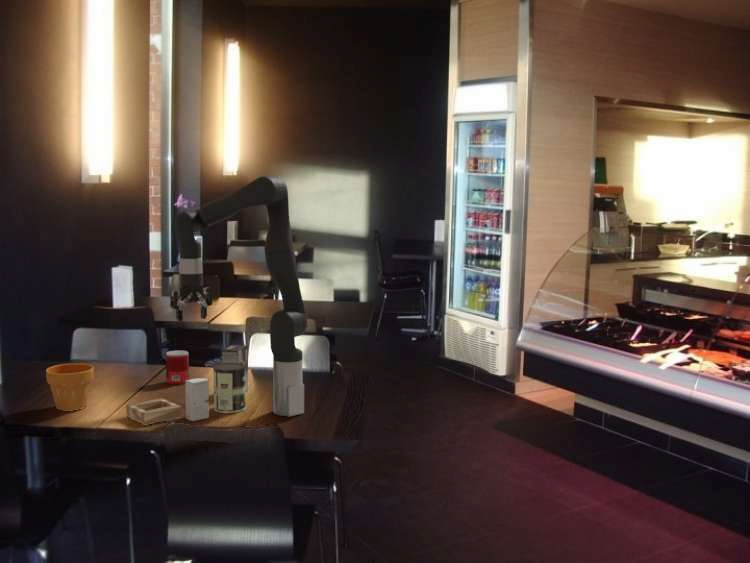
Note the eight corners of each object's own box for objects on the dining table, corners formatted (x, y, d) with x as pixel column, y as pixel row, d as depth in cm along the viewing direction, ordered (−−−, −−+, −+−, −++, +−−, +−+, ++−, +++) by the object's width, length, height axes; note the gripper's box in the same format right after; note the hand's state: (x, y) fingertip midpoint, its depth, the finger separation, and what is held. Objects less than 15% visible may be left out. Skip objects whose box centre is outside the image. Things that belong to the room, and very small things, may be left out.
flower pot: (68, 417, 249) (67, 375, 247) (37, 409, 255) (36, 369, 254) (104, 406, 261) (103, 366, 259) (74, 399, 268) (72, 361, 266)
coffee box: (231, 388, 284) (231, 344, 282) (248, 390, 283) (248, 345, 281) (221, 395, 275) (220, 349, 273) (239, 397, 274) (238, 350, 272)
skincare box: (192, 421, 246) (192, 383, 245) (184, 418, 249) (184, 380, 248) (210, 417, 250) (209, 379, 249) (202, 414, 254) (201, 376, 252)
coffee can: (243, 403, 267) (243, 361, 265) (247, 412, 257) (247, 369, 255) (212, 405, 264) (211, 363, 262) (215, 414, 254) (214, 370, 252)
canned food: (193, 382, 292) (192, 352, 291) (174, 386, 286) (173, 356, 285) (181, 378, 297) (180, 349, 296) (162, 382, 291) (161, 352, 290)
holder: (181, 418, 249) (180, 406, 249) (145, 425, 241) (145, 413, 241) (161, 409, 258) (161, 398, 258) (126, 416, 250) (126, 404, 249)
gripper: (176, 274, 260) (177, 324, 262) (215, 271, 269) (216, 319, 271) (165, 272, 265) (167, 320, 267) (204, 269, 275) (205, 316, 277)
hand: (191, 320), depth 269 cm, fingers open, 8 cm apart
